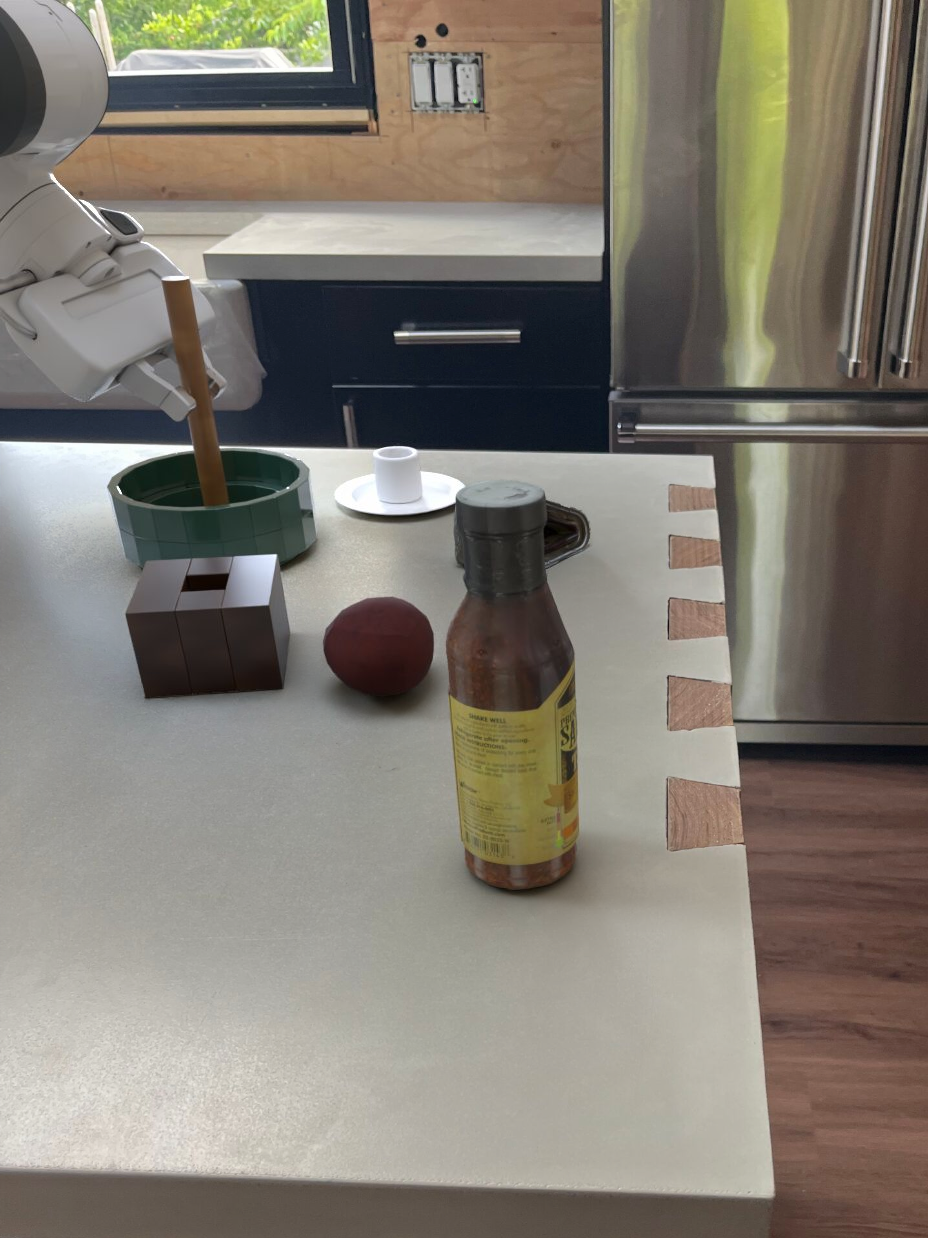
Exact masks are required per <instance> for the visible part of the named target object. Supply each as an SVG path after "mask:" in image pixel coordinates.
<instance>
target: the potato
mask: <svg viewBox="0 0 928 1238" xmlns="http://www.w3.org/2000/svg"><path fill="white" fill-rule="evenodd" d="M322 649H323V655H324V658H325V661H326V664H327V665H328V667H329V669H330V670H331V672H333V674H334V675H335V676H336V678H338V679H339V680H340V681H341V682H342V684H344V685H345V686H346V687H348V688H349V689H351V690H354V691H356V692H358V693H360V694H362V695H365V696H375V697H386V696H395V695H396V696H397V695H400V694H403V693H406V692H409V691H411V690H413V689H414V688H416V687H417V686H419V685H420V684H421V682H423V680H424V679H425V678H426V677H427V675H428V674H429V671H430V669H431V666H432V663H433V660H434V652H435V633H434V631H433V628H432V625H431V622H430V620H429V618H428V616H427V615H426V614H425V613H423V611H421V610H420V609H419V608H418V607H417V606H415V605H414V604H413V603H411V602H409V601H408V600H405V599H403V598H399V597H397V596H396V597H395V596H380V597H379V596H377V597H366V598H364V599H361V600H360V601H357V602H355V603H353V604H351V605H349V606H347V607H346V608H344V609H342V610H340V612H339V613H338V614H337V616H335V617H334V619H333V620H331V622H330V623H329V624H328V625H327V627H325V631H324V635H323V639H322Z"/></svg>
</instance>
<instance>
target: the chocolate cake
mask: <svg viewBox="0 0 928 1238" xmlns="http://www.w3.org/2000/svg"><path fill="white" fill-rule="evenodd" d="M546 508H547V522H546V524H545V526H544V529H543V532H544V557H545V569H547V568H549V567H551V566H553V565H556V564H558V563H559V562H560V561H562V560H565V559H567V558H570V557H571V556H573V555H576V554H578V553H580V552H583V551H584V550H585V549H586V548H587V547H588V545H589V543H590V540H591V526H590V523H591V522H590V520H589V519H588V516H587V514H585V512H583V510H582V509H577V508H576V507H573V506H570V507H568V506H564V505H562V504H561V503H559V502H555V501H552V500H548V499H546ZM453 539H454V557H455V560H456V563H457V565H460V566H464V554H463V540H462V535H461V533H460V532H459V529H458V525H457V520H456V505H455V506H454V515H453Z"/></svg>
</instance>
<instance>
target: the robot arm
mask: <svg viewBox="0 0 928 1238" xmlns="http://www.w3.org/2000/svg"><path fill="white" fill-rule="evenodd" d="M109 76H110V75H109V70H108V67H107V63H106V58H105V57H104V54H103V51H102V49H101V47H100V45H99V43H98V40H97V39H96V38H95V35H94V34H93V33H92V31H91V29H90V28H89V27H88V25H87V24H86V23H85V21H84V20H83V19H81V17H80V16H79V15H78V14H77V13H75V11H73V10H72V9H71V7H68V5H66V4H64V3H63V2H61V1H59V0H0V319H1V320H2V321H3V322H4V323H5V328H6V330H7V333H8V335H9V336H10V337H11V339H12V340H13V342H14V343H15V344H16V345H17V347H18V348H19V349H20V350H21V351H22V352H23V353H24V354H25V355H26V356H27V358H28V359H30V361H31V362H33V364H34V365H35V366H36V367H37V368H38V369H39V370H40V371H41V372H42V373H43V374H44V375H45V376H46V377H47V378H48V379H49V380H50V382H52V383H53V384H54V385H55V387H57V388H58V389H59V390H60V391H61V392H63V394H64V395H67V396H69V397H71V398H73V399H75V400H77V401H79V402H82V403H87V402H90V401H92V400H94V399H95V398H97V397H99V396H101V395H103V394H105V393H107V392H109V391H111V390H112V389H114V388H116V387H118V386H120V385H121V386H123V388H125V389H126V390H127V391H128V392H129V393H130V394H131V395H133V396H135V397H136V398H139V399H140V400H143V401H145V402H147V403H149V404H151V405H153V406H155V407H157V408H158V407H159V408H160V409H161V410H162V411H163V412H164V413H165V414H166V415H167V416H168V417H170V418H171V419H172V421H174V422H177V423H179V422H182V421H183V420H184V419H187V417H188V416H189V415H190V413H191V412H192V411H193V410H194V408H195V407H196V401H195V399H194V398H193V397H191V396H190V395H188V393H187V392H186V391H185V390H184V389H183V388H182V386H181V385H178V386H176V387H175V386H174V385H171V384H170V383H169V382H167V381H165V380H164V379H163V378H161V377H160V376H158V375H156V373H154V372H155V368H154V367H156V366H158V365H160V364H162V363H163V362H165V361H167V360H169V359H170V361H172V362H173V363H174V364H175V365H177V360H176V355H175V350H174V344H173V339H172V334H171V329H170V323H169V318H168V313H167V308H166V302H165V297H164V292H163V287H162V281H161V279H162V278H164V277H168V276H186V275H185V273H183V272H182V270H181V269H179V268H178V267H177V266H176V264H175V263H173V262H172V261H171V260H170V259H169V258H168V256H166V255H165V254H164V253H163V252H161V250H159V249H158V248H156V247H155V246H153V245H152V244H150V243H148V242H144V241H142V240H143V238H144V236H145V233H146V232H145V230H144V228H143V227H142V226H141V225H140V223H138V222H137V221H136V220H135V219H134V218H133V217H131V215H129V214H128V213H125V212H124V211H123V212H122V211H117V210H112V209H106V208H103V207H99V206H97V205H93V204H91V203H89V202H87V201H85V200H83V199H75V198H74V197H73V196H72V195H71V194H70V192H69V191H68V190H66V189H65V188H64V187H63V186H62V185H61V184H60V183H59V182H58V181H57V180H56V178H55V176H54V169H55V167H56V166H58V165H60V164H61V163H62V162H64V161H65V160H66V159H67V158H68V157H69V156H71V155H72V154H73V153H74V152H75V151H76V150H77V149H78V148H79V147H80V146H81V145H83V143H85V142H86V140H87V139H88V138H89V137H91V135H93V133H94V132H95V131H96V130H97V129H98V128H99V125H100V124H101V123H102V121H103V120H104V118H105V115H106V112H107V110H108V106H109V102H110V101H109V100H110V77H109ZM190 284H191V290H192V296H193V301H194V307H195V313H196V318H197V324H198V329H199V335H200V340H202V339H203V337H204V336H205V335H206V334H207V332H208V331H209V329H210V328H211V327H212V326H213V323H214V322H215V321H216V317H217V316H216V314H215V311H214V309H213V306H212V304H211V303H210V301H209V300H208V298H206V296H205V295H204V294H203V293H202V292H201V291H200V289H199V288H197V286H196V285H195V284H194V283H193V282H192V281H191V280H190ZM202 352H203V358H204V363H205V369H206V374H207V380H208V386H209V391H210V397H211V402H212V401H214V400H216V399H218V398H219V397H221V396H222V395H223V393H224V392H225V391H226V389H227V388H228V381H227V379H226V378H225V377H223V376H222V375H221V374H220V372H218V371H217V370H216V369H215V368H214V366H213V364H212V362H211V360H210V358H209V356H208V355H207V353H206V351H205V349H204V348H203V346H202Z"/></svg>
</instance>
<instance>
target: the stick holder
mask: <svg viewBox="0 0 928 1238" xmlns="http://www.w3.org/2000/svg"><path fill="white" fill-rule="evenodd" d="M281 572H282V571H281V565H279V559H278V554H273V555H253V556H234V558H233V557H216V558H197V559H173V560H154V561H146V563H145V566H144V568H142V570H141V574H140V576H139V578H138V580H137V583H136V585H135V587H134V591H133V593H132V596H131V598H130V600H129V602H128V605H127V608H126V610H125V613H124V616H125V620H126V624H127V628H128V633H129V637H130V640H131V645H132V649H133V653H134V656H135V662H136V665H137V669H138V674H139V678H140V683H141V687H142V690H143V694H144V698H145V699H151V698H164V697H165V698H166V697H179V696H180V697H182V696H192V695H194V696H196V695H209V694H211V695H212V694H224V693H236V692H237V693H238V692H239V693H240V692H253V691H268V690H282V689H284V683H285V675H286V669H287V668H286V667H287V660H288V653H289V646H290V645H289V643H290V637H291V627H290V623H289V617H288V610H287V604H286V603H287V602H286V597H285V590H284V585H283V579H282V573H281Z"/></svg>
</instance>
